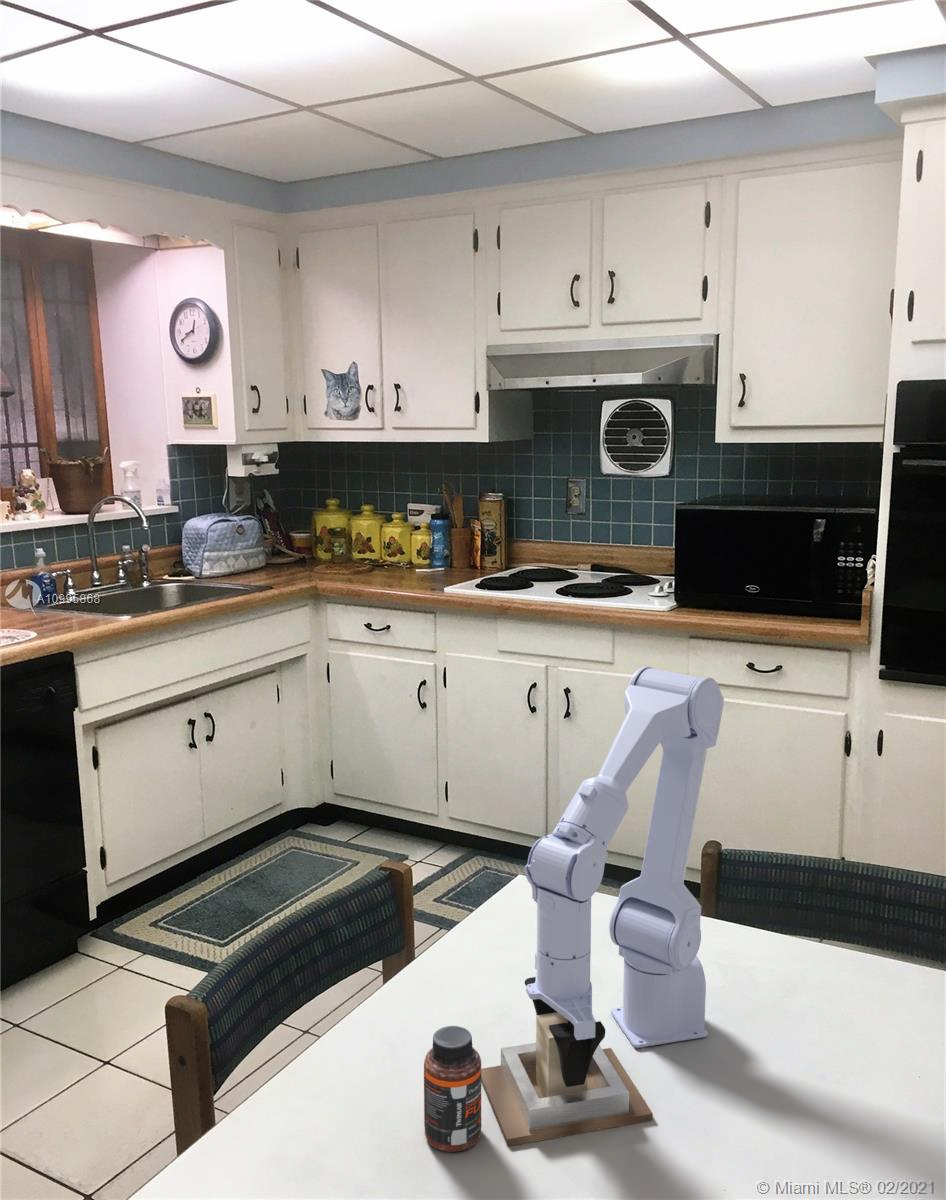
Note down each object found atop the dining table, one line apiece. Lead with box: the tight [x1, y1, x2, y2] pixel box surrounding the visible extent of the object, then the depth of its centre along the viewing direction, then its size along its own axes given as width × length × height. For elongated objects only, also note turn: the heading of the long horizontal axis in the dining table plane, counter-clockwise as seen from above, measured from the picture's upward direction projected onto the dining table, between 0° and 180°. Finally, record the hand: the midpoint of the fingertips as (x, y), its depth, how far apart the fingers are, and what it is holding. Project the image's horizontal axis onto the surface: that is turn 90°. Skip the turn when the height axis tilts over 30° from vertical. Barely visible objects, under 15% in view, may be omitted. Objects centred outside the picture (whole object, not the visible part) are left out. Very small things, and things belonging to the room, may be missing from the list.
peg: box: [535, 1012, 587, 1098], centre depth 113 cm, size 4×4×8 cm
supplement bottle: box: [423, 1025, 482, 1153], centre depth 106 cm, size 6×6×11 cm
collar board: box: [481, 1042, 654, 1147], centre depth 113 cm, size 16×12×3 cm
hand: (562, 1062), depth 113 cm, fingers open, 7 cm apart
